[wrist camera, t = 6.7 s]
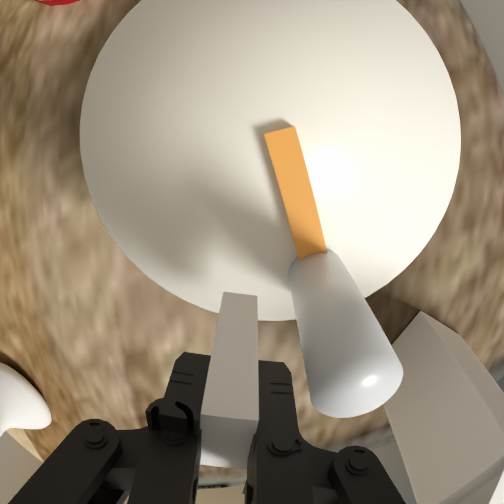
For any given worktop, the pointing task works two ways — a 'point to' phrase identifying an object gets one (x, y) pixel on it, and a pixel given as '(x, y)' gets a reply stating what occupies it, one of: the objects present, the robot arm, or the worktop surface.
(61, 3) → the kitchen timer
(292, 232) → the dial
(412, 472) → the milk carton
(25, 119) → the worktop surface
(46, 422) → the flower in vase
